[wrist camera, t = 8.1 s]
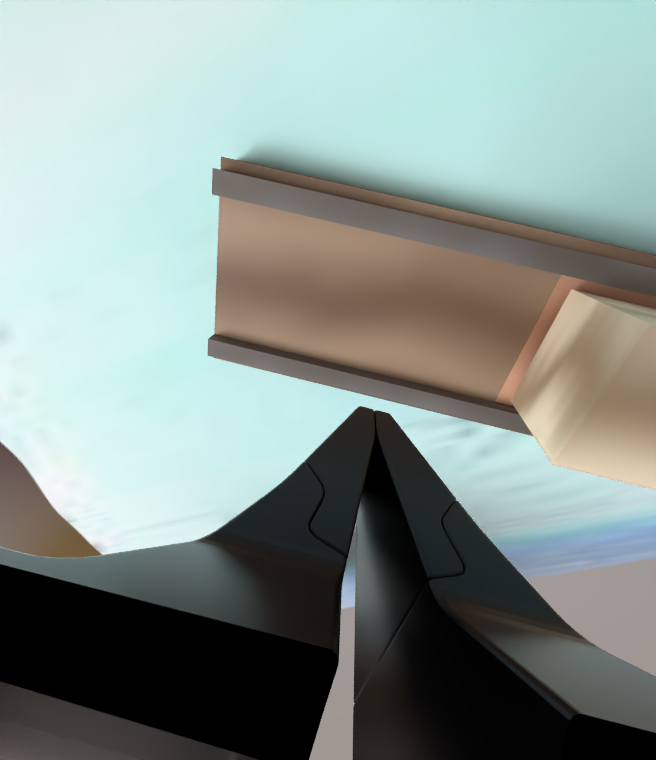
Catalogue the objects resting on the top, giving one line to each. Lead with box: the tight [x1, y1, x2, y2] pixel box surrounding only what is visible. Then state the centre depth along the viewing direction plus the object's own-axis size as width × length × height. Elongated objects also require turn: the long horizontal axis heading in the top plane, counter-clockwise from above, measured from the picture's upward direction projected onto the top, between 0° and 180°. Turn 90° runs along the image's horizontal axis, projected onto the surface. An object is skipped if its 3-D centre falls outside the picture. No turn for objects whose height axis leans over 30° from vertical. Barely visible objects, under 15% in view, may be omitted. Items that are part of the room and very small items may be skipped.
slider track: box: [208, 157, 656, 436], centre depth 16 cm, size 10×30×5 cm, turn 78°
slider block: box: [510, 289, 656, 490], centre depth 14 cm, size 6×6×5 cm
